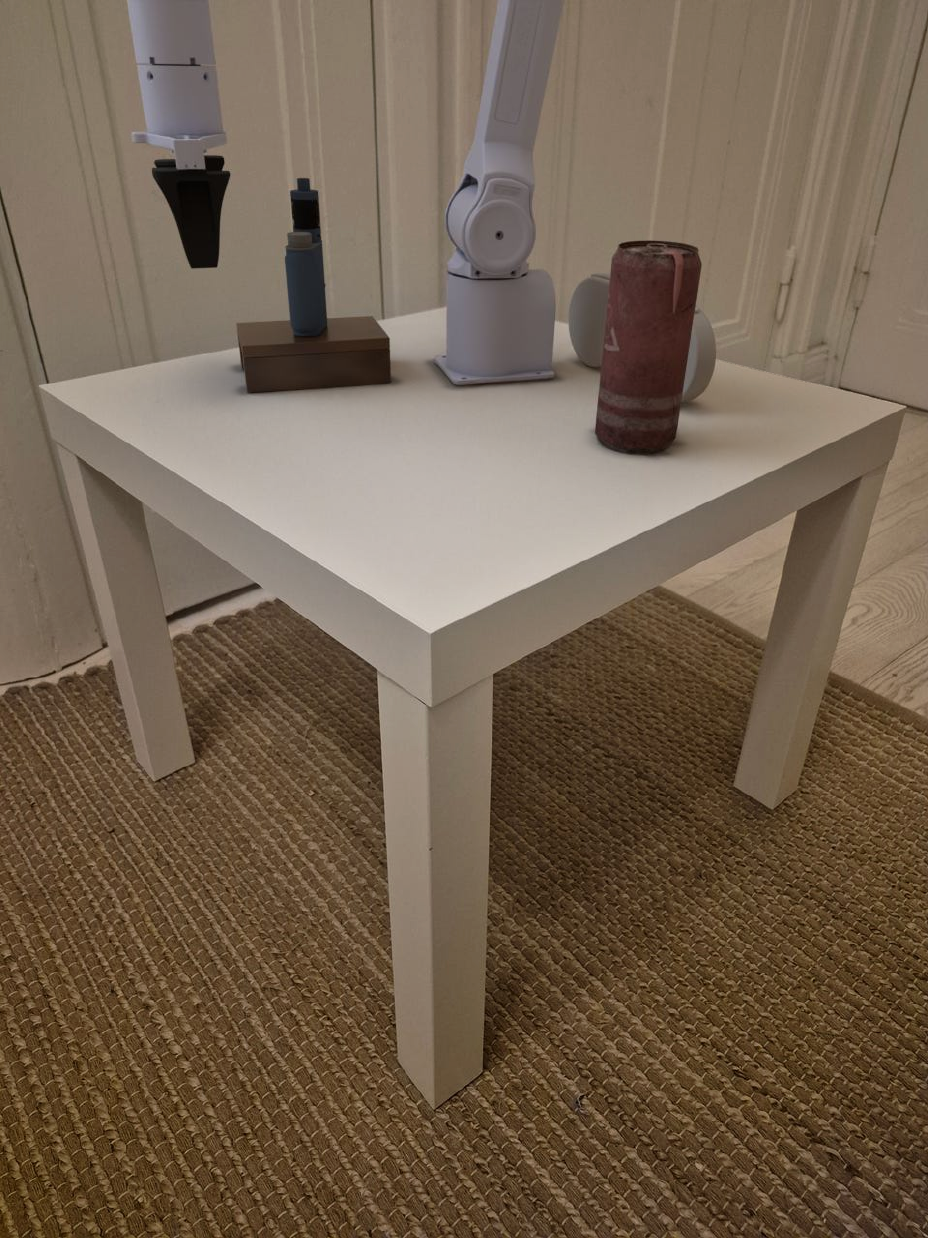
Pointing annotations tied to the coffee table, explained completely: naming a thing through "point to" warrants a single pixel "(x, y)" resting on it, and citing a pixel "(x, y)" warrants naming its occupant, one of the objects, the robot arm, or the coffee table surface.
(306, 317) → the vaping device
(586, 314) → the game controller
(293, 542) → the coffee table surface
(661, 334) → the can
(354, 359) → the brown wooden box
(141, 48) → the robot arm
